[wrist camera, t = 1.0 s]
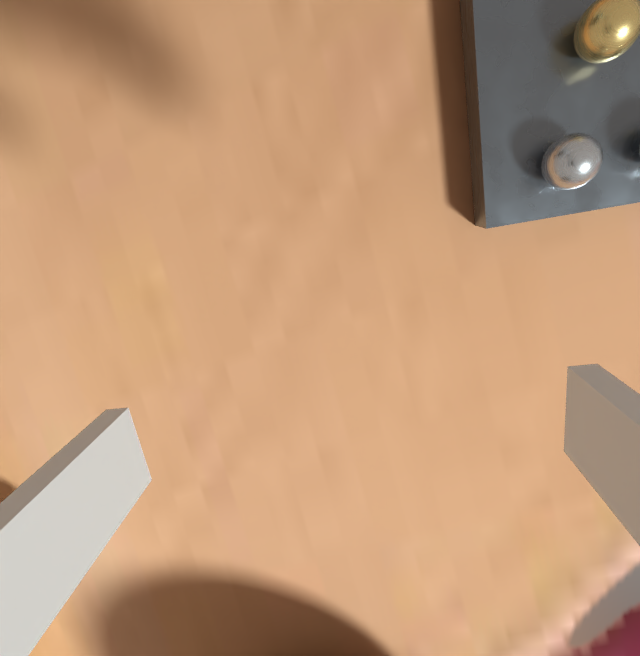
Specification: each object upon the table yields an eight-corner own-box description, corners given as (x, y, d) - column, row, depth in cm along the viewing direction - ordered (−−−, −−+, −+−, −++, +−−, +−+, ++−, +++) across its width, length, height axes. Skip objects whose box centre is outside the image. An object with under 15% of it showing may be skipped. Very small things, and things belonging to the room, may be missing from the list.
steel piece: (532, 142, 28) (554, 135, 24) (585, 131, 27) (616, 123, 24) (533, 194, 29) (555, 194, 25) (585, 184, 28) (614, 183, 25)
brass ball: (562, 14, 25) (592, -12, 22) (621, 0, 25) (661, -28, 22) (563, 75, 26) (591, 59, 23) (619, 63, 26) (657, 45, 23)
